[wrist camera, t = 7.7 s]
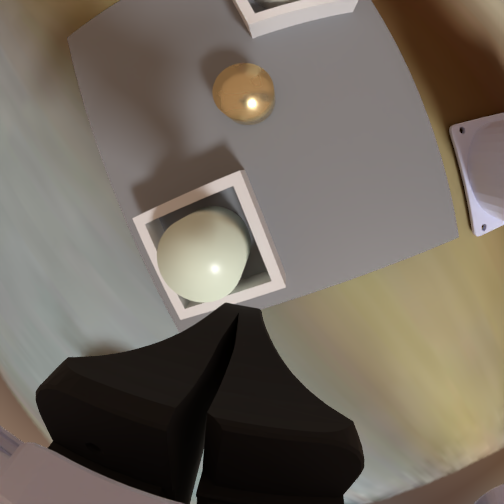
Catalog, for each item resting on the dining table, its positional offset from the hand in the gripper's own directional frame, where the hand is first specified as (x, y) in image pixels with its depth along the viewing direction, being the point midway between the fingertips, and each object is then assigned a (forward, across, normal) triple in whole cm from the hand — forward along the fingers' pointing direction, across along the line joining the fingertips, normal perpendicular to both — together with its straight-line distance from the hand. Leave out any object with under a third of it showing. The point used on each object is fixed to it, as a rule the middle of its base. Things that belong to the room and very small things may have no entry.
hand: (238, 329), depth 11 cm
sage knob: (+8, +3, -1) cm, 8 cm away
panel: (+9, +2, -9) cm, 13 cm away
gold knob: (+8, +2, -9) cm, 12 cm away
